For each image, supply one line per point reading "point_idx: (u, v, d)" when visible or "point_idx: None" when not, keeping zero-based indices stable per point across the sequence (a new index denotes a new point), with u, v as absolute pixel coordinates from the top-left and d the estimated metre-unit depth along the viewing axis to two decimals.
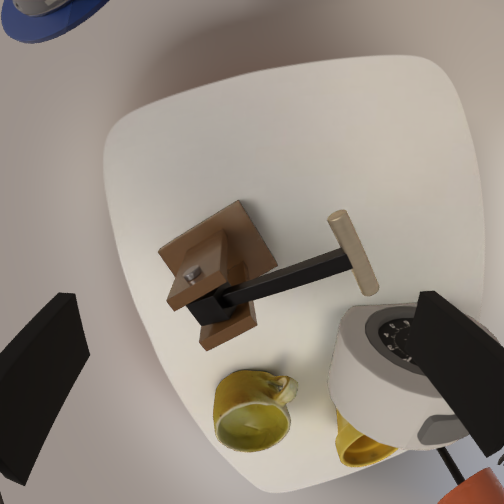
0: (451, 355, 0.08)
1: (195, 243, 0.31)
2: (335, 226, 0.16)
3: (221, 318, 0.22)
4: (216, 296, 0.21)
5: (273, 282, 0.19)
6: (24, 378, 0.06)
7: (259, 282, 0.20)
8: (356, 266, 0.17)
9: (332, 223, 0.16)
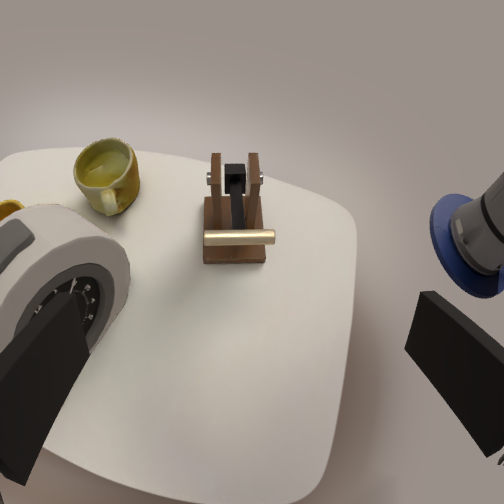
0: (451, 355, 0.08)
1: None
2: (268, 229, 0.24)
3: (227, 171, 0.31)
4: (243, 176, 0.31)
5: (239, 198, 0.28)
6: (24, 378, 0.06)
7: None
8: (233, 231, 0.24)
9: (271, 229, 0.24)
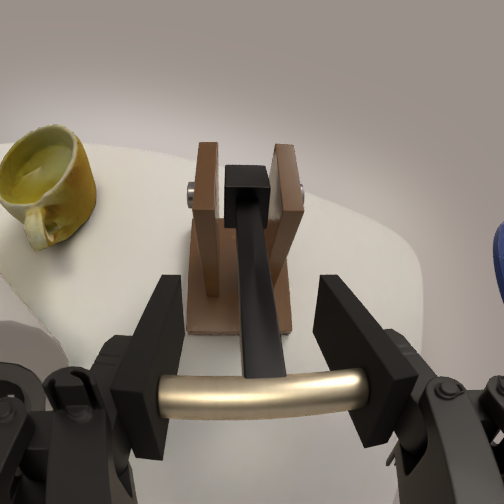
0: (337, 336, 0.10)
1: None
2: (352, 374, 0.07)
3: (230, 181, 0.15)
4: (265, 192, 0.14)
5: (260, 254, 0.11)
6: (163, 350, 0.08)
7: (265, 241, 0.12)
8: (247, 385, 0.07)
9: (358, 370, 0.08)
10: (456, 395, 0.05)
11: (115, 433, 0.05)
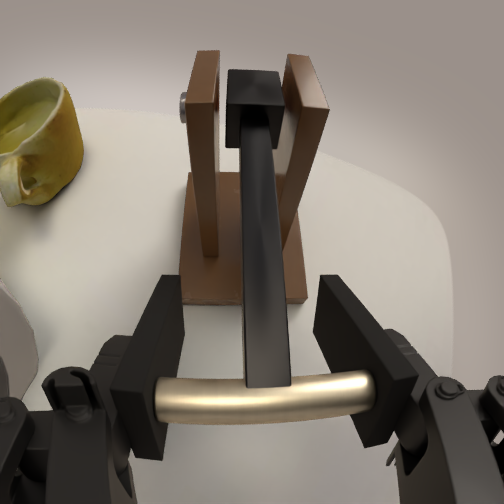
0: (338, 336, 0.10)
1: None
2: (360, 383, 0.07)
3: (234, 95, 0.11)
4: (277, 111, 0.11)
5: (270, 206, 0.09)
6: (163, 350, 0.08)
7: (275, 184, 0.10)
8: (249, 396, 0.07)
9: (368, 379, 0.07)
10: (456, 395, 0.05)
11: (115, 433, 0.05)
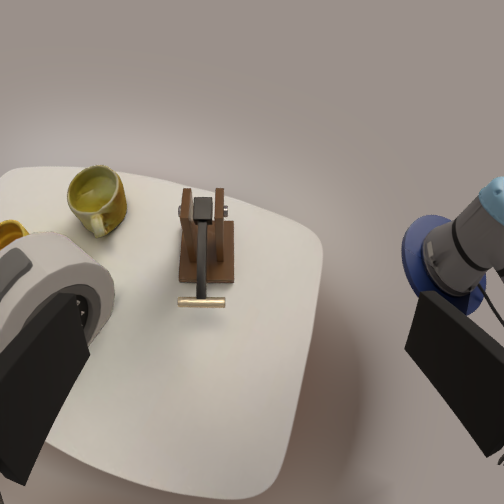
0: (451, 355, 0.08)
1: (224, 242, 0.47)
2: (221, 300, 0.35)
3: (195, 214, 0.36)
4: (209, 220, 0.36)
5: (204, 255, 0.36)
6: (24, 378, 0.06)
7: (206, 247, 0.36)
8: (197, 301, 0.35)
9: (223, 299, 0.35)
10: None
11: None
